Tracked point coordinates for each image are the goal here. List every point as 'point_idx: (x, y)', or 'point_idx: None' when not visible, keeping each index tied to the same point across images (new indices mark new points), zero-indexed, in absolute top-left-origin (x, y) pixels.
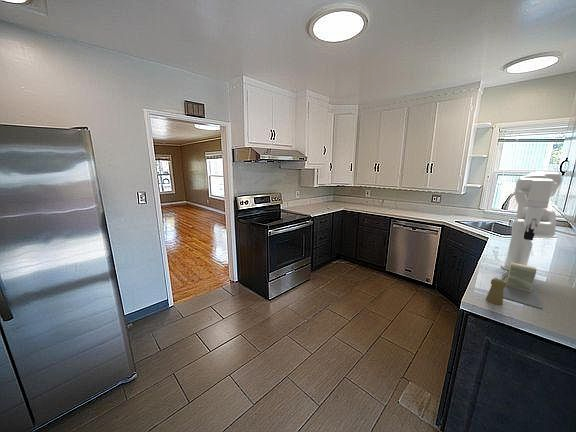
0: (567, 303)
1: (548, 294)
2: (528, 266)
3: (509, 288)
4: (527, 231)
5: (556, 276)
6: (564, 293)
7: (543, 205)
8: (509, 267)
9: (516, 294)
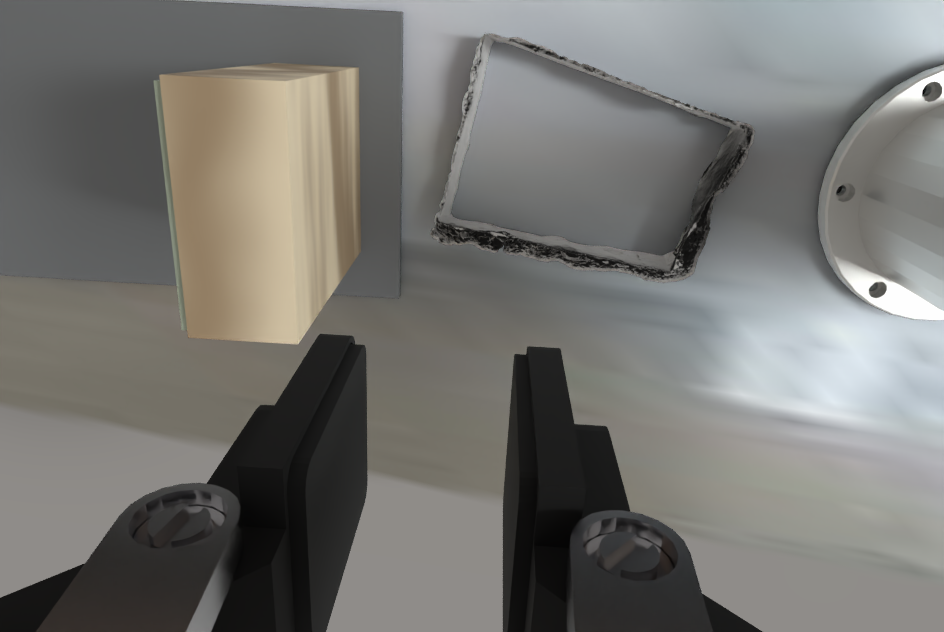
0: None
1: (374, 363)
2: (263, 273)
3: None
4: (135, 524)
5: (936, 501)
6: (497, 466)
7: None
8: (900, 139)
9: (110, 131)
